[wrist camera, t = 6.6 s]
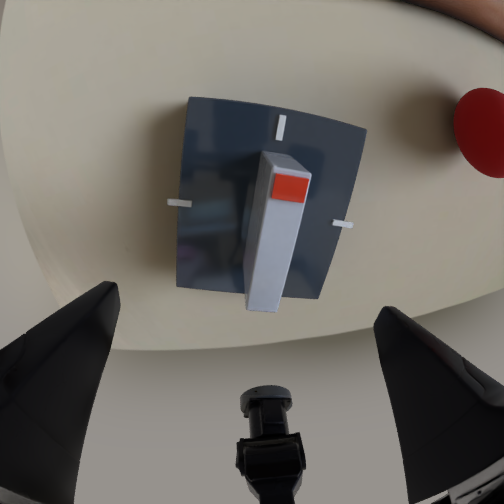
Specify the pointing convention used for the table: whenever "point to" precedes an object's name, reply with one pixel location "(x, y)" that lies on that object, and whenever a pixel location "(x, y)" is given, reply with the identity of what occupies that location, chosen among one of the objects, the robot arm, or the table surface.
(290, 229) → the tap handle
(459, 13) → the sunglasses case
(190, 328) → the table surface
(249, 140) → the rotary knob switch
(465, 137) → the christmas ornament
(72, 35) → the table surface
